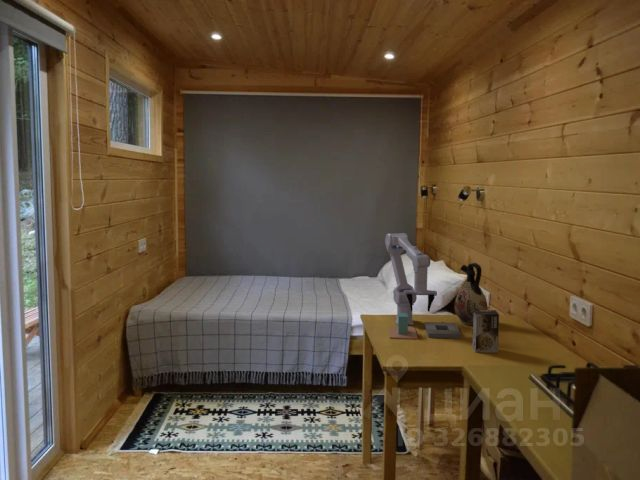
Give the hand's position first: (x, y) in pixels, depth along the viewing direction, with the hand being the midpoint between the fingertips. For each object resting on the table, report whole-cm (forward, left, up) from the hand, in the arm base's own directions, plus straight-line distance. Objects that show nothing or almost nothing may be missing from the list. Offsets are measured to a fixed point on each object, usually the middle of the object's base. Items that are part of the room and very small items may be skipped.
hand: (420, 310), depth 242 cm
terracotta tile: (+5, -8, -9) cm, 13 cm away
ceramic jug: (-15, +26, -10) cm, 32 cm away
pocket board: (+1, +10, -9) cm, 14 cm away
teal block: (+5, -8, -9) cm, 13 cm away
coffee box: (+25, +24, -10) cm, 36 cm away
